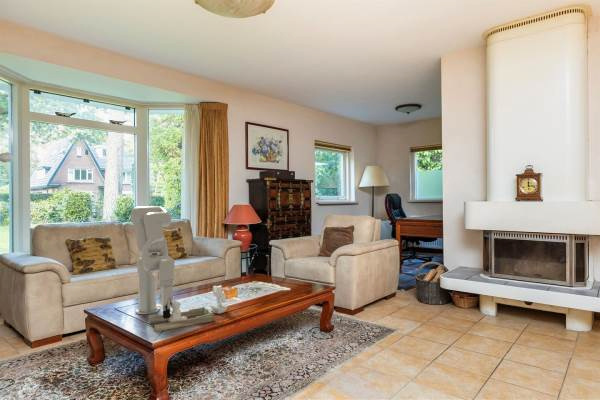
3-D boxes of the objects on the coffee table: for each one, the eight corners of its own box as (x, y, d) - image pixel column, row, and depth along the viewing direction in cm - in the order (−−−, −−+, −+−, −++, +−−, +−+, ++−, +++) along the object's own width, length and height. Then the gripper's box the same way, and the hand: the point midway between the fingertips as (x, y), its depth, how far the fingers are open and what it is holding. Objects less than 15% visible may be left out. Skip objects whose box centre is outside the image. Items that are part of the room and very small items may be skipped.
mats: (150, 323, 190) (150, 323, 190) (161, 321, 193) (161, 321, 193) (155, 330, 181) (155, 330, 181) (167, 328, 184) (167, 327, 184)
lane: (149, 323, 191) (149, 315, 191) (204, 313, 207) (204, 306, 207) (154, 331, 180) (154, 323, 179) (213, 320, 196) (213, 313, 196)
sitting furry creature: (187, 319, 197) (187, 297, 197) (184, 325, 189) (184, 302, 188) (168, 320, 196) (168, 298, 195) (165, 326, 187) (165, 302, 187)
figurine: (219, 315, 204) (219, 288, 204) (208, 311, 210) (208, 285, 210) (229, 312, 210) (229, 286, 210) (218, 308, 216) (218, 283, 215)
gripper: (155, 280, 193) (155, 315, 193) (162, 286, 181) (162, 323, 181) (170, 278, 197) (170, 312, 198) (177, 284, 185) (177, 321, 185)
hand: (166, 317), depth 189 cm, fingers closed
